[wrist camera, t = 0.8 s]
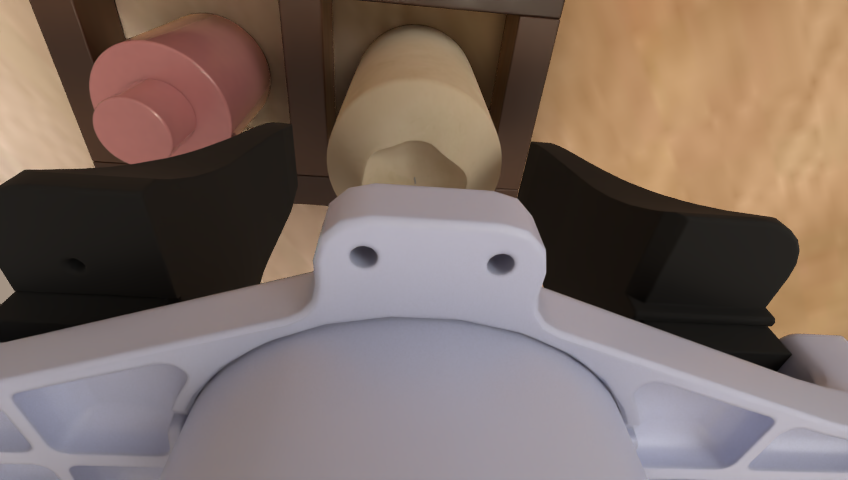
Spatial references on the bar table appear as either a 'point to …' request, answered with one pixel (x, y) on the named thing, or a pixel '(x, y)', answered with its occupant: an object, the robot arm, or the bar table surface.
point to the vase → (177, 88)
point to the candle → (414, 118)
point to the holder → (322, 75)
